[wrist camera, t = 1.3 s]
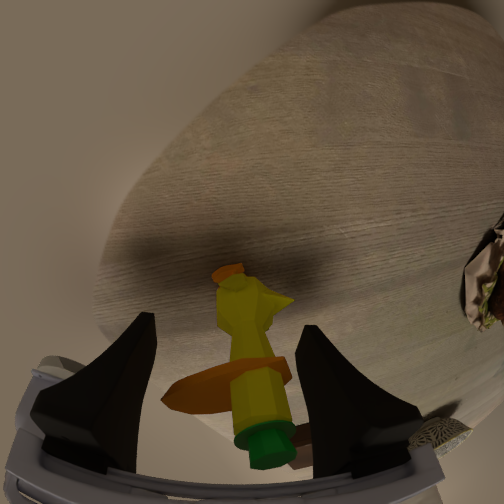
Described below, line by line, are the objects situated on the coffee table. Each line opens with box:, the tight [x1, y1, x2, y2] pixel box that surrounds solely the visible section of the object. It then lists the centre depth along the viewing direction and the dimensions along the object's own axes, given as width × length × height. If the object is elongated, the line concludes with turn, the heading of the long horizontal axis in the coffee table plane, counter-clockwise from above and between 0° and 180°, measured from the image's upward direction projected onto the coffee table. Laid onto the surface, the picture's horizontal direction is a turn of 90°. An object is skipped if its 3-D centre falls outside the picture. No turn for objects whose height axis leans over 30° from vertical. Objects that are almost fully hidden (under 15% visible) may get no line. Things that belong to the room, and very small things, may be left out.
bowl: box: [408, 417, 473, 459], centre depth 33 cm, size 16×16×8 cm
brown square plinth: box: [288, 423, 313, 470], centre depth 28 cm, size 10×7×3 cm
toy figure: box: [161, 263, 298, 470], centre depth 12 cm, size 7×4×12 cm, turn 110°
